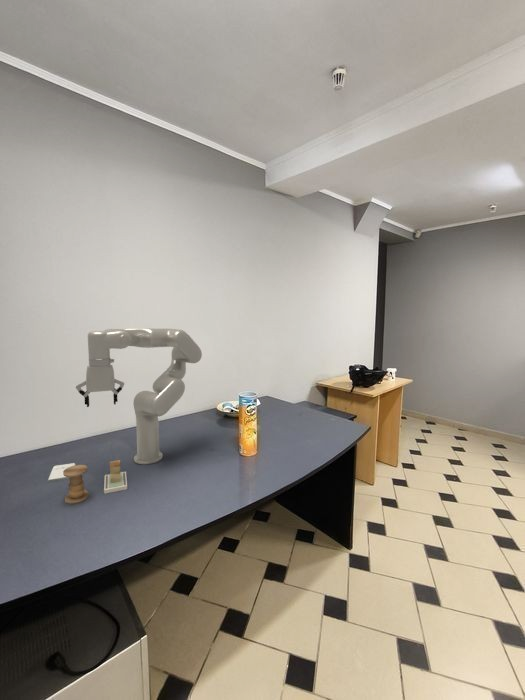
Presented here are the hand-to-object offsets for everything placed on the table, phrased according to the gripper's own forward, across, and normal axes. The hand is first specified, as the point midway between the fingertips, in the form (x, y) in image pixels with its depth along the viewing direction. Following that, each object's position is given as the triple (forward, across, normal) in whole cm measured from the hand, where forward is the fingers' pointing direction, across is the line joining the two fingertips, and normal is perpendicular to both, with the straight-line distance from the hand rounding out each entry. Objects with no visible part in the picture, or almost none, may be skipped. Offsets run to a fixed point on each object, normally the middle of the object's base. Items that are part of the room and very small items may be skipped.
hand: (101, 404), depth 133 cm
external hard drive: (+31, +16, -9) cm, 36 cm away
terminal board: (+30, -4, +8) cm, 32 cm away
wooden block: (+29, -4, +8) cm, 30 cm away
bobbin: (+30, +9, +13) cm, 34 cm away
